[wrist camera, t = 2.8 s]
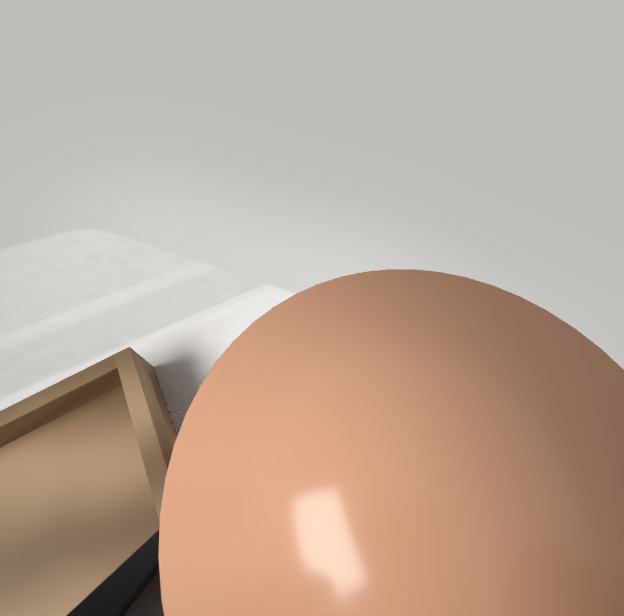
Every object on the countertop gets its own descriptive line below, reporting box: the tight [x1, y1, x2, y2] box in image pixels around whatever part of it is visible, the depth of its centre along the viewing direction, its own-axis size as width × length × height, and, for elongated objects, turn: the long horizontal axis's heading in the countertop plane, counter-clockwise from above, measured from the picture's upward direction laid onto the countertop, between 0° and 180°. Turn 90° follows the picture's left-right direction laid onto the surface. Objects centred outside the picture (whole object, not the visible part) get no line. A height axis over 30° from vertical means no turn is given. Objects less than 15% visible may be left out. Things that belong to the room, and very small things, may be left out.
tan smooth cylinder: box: [158, 270, 624, 616], centre depth 9 cm, size 6×6×13 cm
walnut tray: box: [0, 347, 177, 616], centre depth 14 cm, size 14×14×2 cm
